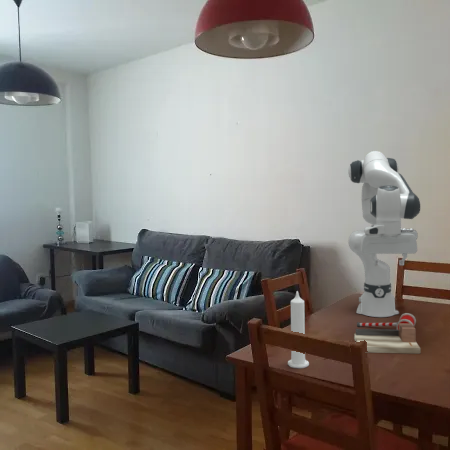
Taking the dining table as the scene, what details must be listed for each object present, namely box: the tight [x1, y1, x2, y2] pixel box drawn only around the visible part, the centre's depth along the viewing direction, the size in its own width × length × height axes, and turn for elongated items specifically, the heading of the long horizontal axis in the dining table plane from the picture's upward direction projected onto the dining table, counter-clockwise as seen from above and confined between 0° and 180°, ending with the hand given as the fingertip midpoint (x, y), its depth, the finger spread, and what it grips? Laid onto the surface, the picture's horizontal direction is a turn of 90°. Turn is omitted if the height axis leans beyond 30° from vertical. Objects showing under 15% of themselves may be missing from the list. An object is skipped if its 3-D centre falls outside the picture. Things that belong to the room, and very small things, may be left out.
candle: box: [287, 290, 310, 369], centre depth 166 cm, size 7×7×25 cm
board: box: [353, 328, 421, 355], centre depth 183 cm, size 16×21×4 cm
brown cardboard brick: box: [399, 323, 417, 342], centre depth 184 cm, size 7×4×5 cm, turn 171°
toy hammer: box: [356, 312, 417, 330], centre depth 204 cm, size 23×12×6 cm, turn 65°
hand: (388, 265), depth 187 cm, fingers open, 8 cm apart
